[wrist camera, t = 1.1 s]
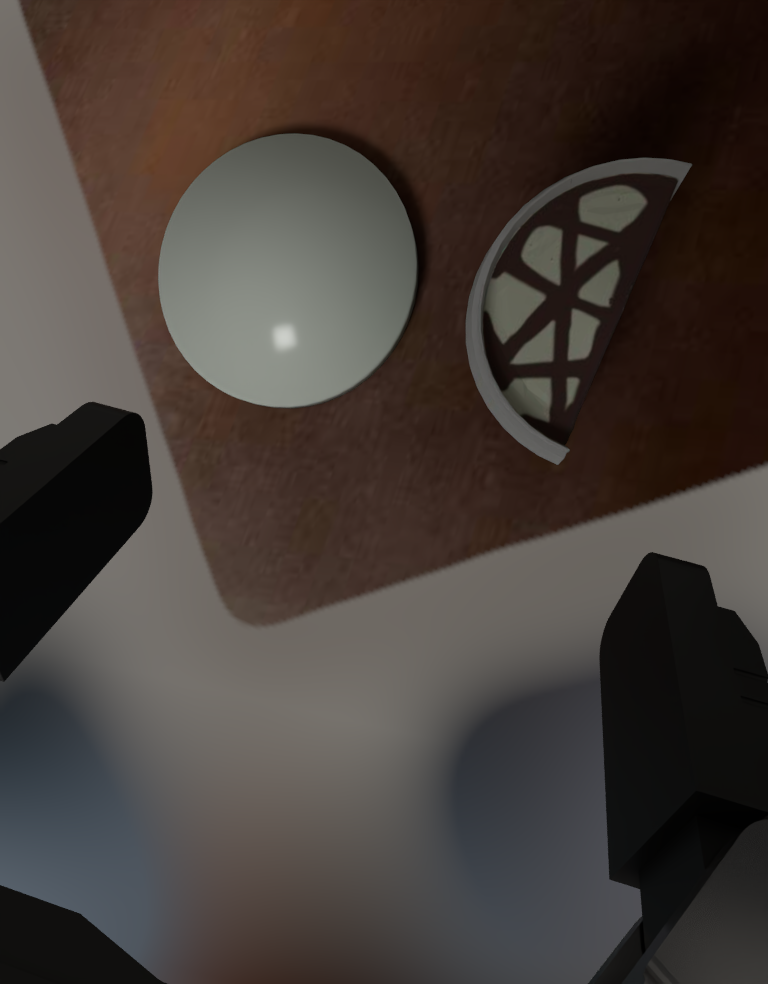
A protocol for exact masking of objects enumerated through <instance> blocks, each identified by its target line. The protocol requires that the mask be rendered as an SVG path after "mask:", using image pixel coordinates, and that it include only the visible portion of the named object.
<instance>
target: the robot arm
mask: <svg viewBox="0 0 768 984" xmlns="http://www.w3.org/2000/svg"><path fill="white" fill-rule="evenodd" d="M151 500H152V481H151V474H150V465H149V456H148V447H147V439H146V431H145V424H144V421H143V419H142V418H141V416H140V415H139V414H137V413H133V412H129V411H126V410H122V409H118V408H114V407H111V406H107V405H103V404H99V403H96V402H88V403H86V404H84V405H82V406H81V407H80V408H78V409H77V410H76V411H74V412H73V413H72V414H70V415H69V416H68V417H67V418H65V419H64V420H63V421H61V422H60V423H59V424H57V425H55V424H49V425H47V426H44V427H42V428H39V429H37V430H34V431H32V432H29V433H26V434H24V435H21V436H19V437H17V438H15V439H14V440H12V441H11V442H10V443H8V444H7V445H6V446H4V447H3V448H2V449H0V681H3V682H4V681H5V680H6V679H7V678H8V677H9V676H10V674H11V673H12V672H13V671H14V670H15V669H16V668H17V666H18V665H19V664H20V663H21V662H22V661H23V659H24V658H25V657H26V656H27V655H28V654H29V653H30V651H31V650H32V649H33V648H34V647H35V646H36V645H37V644H38V642H39V641H40V640H41V639H42V638H43V637H44V635H45V634H46V633H47V632H48V631H49V630H50V629H51V627H52V626H53V625H54V624H55V623H56V622H57V621H58V619H59V618H60V617H61V616H62V615H63V614H64V613H65V611H66V610H67V609H68V608H69V607H70V606H71V605H72V603H73V602H74V601H75V600H76V599H77V598H78V596H79V595H80V594H81V593H82V592H83V591H84V590H85V588H86V587H87V586H88V585H89V584H90V583H91V582H92V580H93V579H94V578H95V577H96V576H97V575H98V574H99V572H100V571H101V570H102V569H103V568H104V567H105V565H106V564H107V563H108V562H109V561H110V560H111V559H112V558H113V556H114V555H115V554H116V553H117V552H118V551H119V549H120V548H121V547H122V546H123V545H124V544H125V543H126V541H127V540H128V539H129V538H130V537H131V536H132V535H133V533H134V532H135V531H136V530H137V529H138V527H140V525H141V524H142V522H143V521H144V519H145V517H146V515H147V513H148V510H149V507H150V505H151ZM600 681H601V703H602V725H603V747H604V769H605V791H606V813H607V836H608V858H609V879H610V880H613V881H616V882H619V883H623V884H626V885H629V886H632V887H635V888H638V889H640V892H641V905H642V917H640V918H639V919H638V920H637V921H636V922H635V923H634V925H633V926H632V928H631V929H630V930H629V931H628V932H627V934H626V935H625V936H624V938H623V939H622V940H621V942H620V943H619V944H618V945H617V947H616V948H615V949H614V950H613V952H612V953H611V954H610V956H609V957H608V958H607V960H606V961H605V962H604V963H603V965H602V966H601V967H600V969H599V970H598V971H597V972H596V974H595V975H594V976H593V978H592V979H591V980H590V981H589V983H588V984H768V683H767V681H768V674H767V670H766V667H765V664H764V660H763V657H762V654H761V650H760V647H759V644H758V643H757V641H756V640H755V639H754V637H753V636H752V634H751V633H750V632H749V630H748V629H747V627H746V626H745V625H744V623H743V622H742V621H741V619H740V618H739V616H738V615H737V614H736V612H735V611H732V610H729V609H725V608H721V607H718V606H717V602H716V598H715V594H714V590H713V587H712V583H711V578H710V575H709V572H708V571H707V569H706V568H705V567H704V566H702V565H698V564H694V563H690V562H687V561H682V560H679V559H675V558H672V557H668V556H664V555H660V554H657V553H653V552H652V553H648V554H647V555H646V556H645V557H644V558H643V560H642V561H641V563H640V564H639V566H638V568H637V570H636V571H635V573H634V575H633V577H632V578H631V580H630V582H629V584H628V585H627V587H626V589H625V591H624V592H623V594H622V596H621V598H620V599H619V601H618V603H617V605H616V606H615V608H614V610H613V611H612V613H611V615H610V617H609V619H608V621H607V623H606V626H605V629H604V632H603V636H602V640H601V645H600ZM0 984H167V983H164V982H162V981H160V980H159V979H157V978H156V977H155V976H154V975H152V974H151V973H150V972H149V971H148V970H146V969H145V968H144V967H143V966H142V965H141V964H139V963H138V962H137V961H136V960H135V959H133V958H132V957H131V956H130V955H129V954H127V953H126V952H125V951H124V950H123V949H122V948H120V947H119V946H118V945H117V944H115V943H114V942H113V941H112V940H111V939H110V938H108V937H107V936H106V935H105V934H104V933H102V932H101V931H100V930H99V929H98V928H97V927H95V926H94V925H93V924H92V923H91V922H89V921H88V920H87V919H86V918H85V917H83V916H82V915H81V914H79V913H77V912H74V911H71V910H68V909H65V908H62V907H59V906H57V905H54V904H51V903H48V902H46V901H43V900H40V899H37V898H35V897H32V896H29V895H26V894H23V893H21V892H18V891H15V890H12V889H9V888H7V887H4V886H1V885H0Z"/></svg>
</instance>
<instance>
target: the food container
mask: <svg viewBox="0 0 768 984" xmlns="http://www.w3.org/2000/svg"><path fill="white" fill-rule="evenodd" d="M691 166H692V164H690V163H685V162H681V161H676V160H671V159H659V158H634V159H623V160H617V161H613V162H608V163H604V164H600V165H596V166H593V167H589V168H587V169H584V170H582V171H579V172H577V173H574V174H572V175H569V176H567V177H565V178H563V179H562V180H560V181H558V182H556V183H555V184H553V185H551V186H550V187H548V188H546V189H544V190H543V191H542V192H541V193H539V194H538V195H537V196H536V197H534V198H533V199H532V200H530V201H529V202H528V203H527V204H525V205H524V206H523V207H522V208H521V210H520V211H519V212H518V213H517V214H516V215H515V216H514V217H513V218H512V219H511V220H510V221H509V222H508V223H507V225H506V226H505V228H504V229H503V230H502V232H501V233H500V235H499V236H498V238H497V239H496V240H495V242H494V243H493V245H492V246H491V248H490V249H489V251H488V252H487V254H486V256H485V258H484V260H483V262H482V264H481V266H480V268H479V270H478V272H477V274H476V277H475V280H474V284H473V287H472V290H471V293H470V296H469V302H468V309H467V316H466V346H467V352H468V358H469V364H470V368H471V371H472V374H473V377H474V379H475V382H476V385H477V388H478V390H479V392H480V394H481V395H482V397H483V399H484V401H485V403H486V405H487V407H488V408H489V410H490V411H491V412H492V414H493V415H494V416H495V418H496V419H497V420H498V421H499V423H500V424H501V425H502V427H503V428H505V429H506V430H507V431H508V432H509V433H510V434H511V435H512V436H513V437H514V438H515V439H516V440H517V441H518V442H519V443H521V444H522V445H524V446H525V447H527V448H528V449H530V450H531V451H532V452H534V453H535V454H537V455H538V456H540V457H542V458H544V459H547V460H549V461H551V462H553V463H555V464H557V465H558V464H559V463H560V462H561V461H562V460H563V459H564V457H565V455H566V453H567V452H569V449H568V448H567V447H566V446H565V444H566V443H567V441H568V438H569V436H570V434H571V432H572V430H573V429H574V425H575V421H576V419H577V416H578V414H579V411H580V409H581V407H582V404H583V402H584V400H585V397H586V395H587V393H588V391H589V388H590V386H591V384H592V381H593V379H594V377H595V374H596V372H597V370H598V367H599V365H600V363H601V360H602V358H603V355H604V353H605V351H606V349H607V346H608V344H609V342H610V340H611V337H612V335H613V333H614V331H615V328H616V326H617V324H618V321H619V319H620V317H621V315H622V312H623V310H624V308H625V305H626V303H627V300H628V298H629V295H630V293H631V291H632V288H633V286H634V283H635V281H636V279H637V276H638V274H639V272H640V270H641V267H642V265H643V263H644V261H645V258H646V256H647V254H648V251H649V249H650V247H651V244H652V242H653V240H654V237H655V235H656V233H657V230H658V228H659V226H660V223H661V221H662V219H663V216H664V214H665V212H666V209H667V207H668V204H669V202H670V200H671V199H672V197H673V195H674V194H675V192H676V190H677V189H678V187H679V185H680V184H681V182H682V181H683V179H684V177H685V176H686V174H687V172H688V171H689V169H690V167H691Z"/></svg>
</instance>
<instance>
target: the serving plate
mask: <svg viewBox="0 0 768 984" xmlns="http://www.w3.org/2000/svg"><path fill="white" fill-rule="evenodd" d="M418 271H419V266H418V254H417V247H416V242H415V238H414V233H413V230H412V227H411V224H410V221H409V218H408V216H407V213H406V210H405V207H404V205H403V204H402V202H401V200H400V198H399V196H398V194H397V192H396V191H395V189H394V188H393V186H392V185H391V184H390V182H389V181H388V179H387V178H386V177H385V176H384V175H383V174H382V172H381V171H380V170H379V169H378V168H377V167H376V166H375V165H374V164H373V163H371V162H370V161H369V160H368V159H366V158H365V157H364V156H362V155H361V154H360V153H358V152H356V151H355V150H353V149H351V148H349V147H348V146H346V145H344V144H341V143H339V142H336V141H333V140H331V139H328V138H323V137H319V136H315V135H308V134H297V133H295V134H278V135H273V136H267V137H262V138H259V139H256V140H253V141H250V142H247V143H245V144H243V145H241V146H239V147H237V148H235V149H232V150H230V151H229V152H227V153H226V154H224V155H223V156H221V157H220V158H218V159H217V160H215V161H214V162H213V163H212V164H211V165H210V166H208V167H207V168H206V169H205V170H204V171H203V172H202V173H201V174H200V175H199V176H198V177H197V178H196V179H195V180H194V181H193V183H192V184H191V185H190V186H189V188H188V189H187V191H186V192H185V193H184V195H183V196H182V198H181V199H180V201H179V203H178V205H177V206H176V208H175V210H174V212H173V214H172V216H171V219H170V221H169V224H168V226H167V229H166V232H165V235H164V239H163V243H162V246H161V253H160V260H159V276H158V283H159V294H160V301H161V306H162V310H163V315H164V318H165V321H166V323H167V326H168V329H169V332H170V334H171V336H172V338H173V340H174V342H175V344H176V346H177V347H178V349H179V350H180V352H181V353H182V355H183V356H184V358H185V359H186V360H187V361H188V363H189V364H190V365H191V366H192V367H193V368H194V369H195V370H196V372H198V373H199V374H200V375H201V376H202V377H203V378H204V379H206V380H207V381H208V382H209V383H211V384H212V385H214V386H215V387H217V388H218V389H220V390H221V391H223V392H225V393H227V394H229V395H231V396H234V397H236V398H238V399H241V400H244V401H248V402H251V403H254V404H258V405H262V406H267V407H273V408H301V407H310V406H314V405H318V404H322V403H325V402H328V401H330V400H333V399H335V398H338V397H340V396H342V395H344V394H346V393H348V392H349V391H351V390H353V389H355V388H356V387H358V386H359V385H360V384H362V383H363V382H364V381H366V380H367V379H368V378H370V377H371V376H372V375H373V374H374V373H375V372H376V371H377V370H378V369H379V368H380V367H381V366H382V365H383V364H384V362H385V361H386V360H387V359H388V357H389V356H390V355H391V354H392V352H393V351H394V349H395V348H396V346H397V344H398V343H399V341H400V339H401V338H402V336H403V334H404V331H405V329H406V327H407V325H408V323H409V320H410V317H411V314H412V311H413V307H414V304H415V299H416V293H417V288H418Z"/></svg>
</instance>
